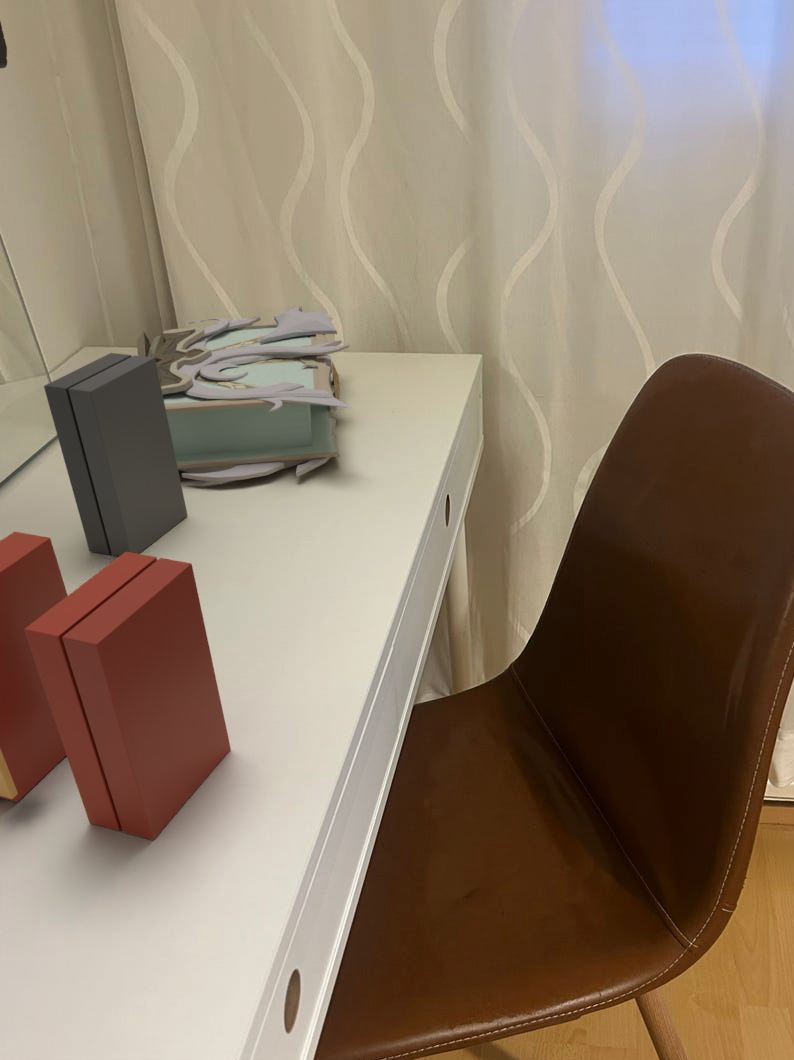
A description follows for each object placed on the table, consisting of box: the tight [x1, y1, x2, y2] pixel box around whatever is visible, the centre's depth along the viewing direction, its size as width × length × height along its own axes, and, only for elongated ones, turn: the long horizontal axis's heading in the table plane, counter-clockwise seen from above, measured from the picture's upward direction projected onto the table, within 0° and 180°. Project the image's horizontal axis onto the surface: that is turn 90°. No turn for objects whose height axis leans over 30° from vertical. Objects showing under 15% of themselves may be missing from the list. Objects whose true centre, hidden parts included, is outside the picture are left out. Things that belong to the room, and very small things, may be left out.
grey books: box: [43, 352, 188, 557], centre depth 78 cm, size 4×8×14 cm, turn 161°
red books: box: [24, 552, 232, 841], centre depth 53 cm, size 4×8×13 cm, turn 161°
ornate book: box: [136, 305, 353, 482], centre depth 98 cm, size 23×10×30 cm
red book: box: [0, 531, 69, 803], centre depth 55 cm, size 3×8×13 cm, turn 161°
